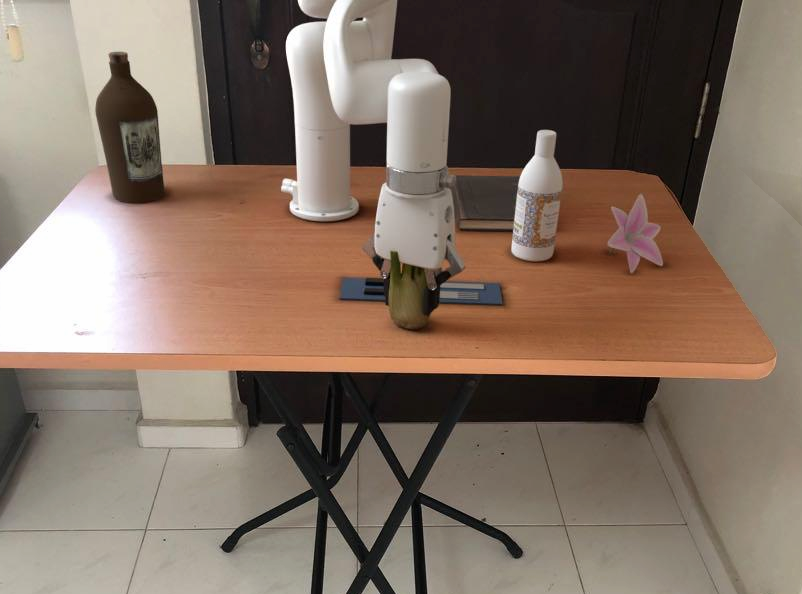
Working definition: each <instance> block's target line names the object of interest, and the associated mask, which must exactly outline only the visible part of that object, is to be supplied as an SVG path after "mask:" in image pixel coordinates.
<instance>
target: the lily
mask: <svg viewBox="0 0 802 594" xmlns="http://www.w3.org/2000/svg"><path fill="white" fill-rule="evenodd" d="M610 209H611V212H612V214H613V217H614V219H615V221H616V223H617V226H618V228H617V230H616V231H615V232H614V233H613V234H612V236H610V238H609V239H608V241H607V246H608V247H610V248H611V249H610V251H609V252H608V254H612V252H613V251H614V250H615V249H617V250H621V251H625V252H626V257H627V263H628V267H629V272H630V274H633V273H634V272H635V270H636V268H637V267H638V265H639V263H640V260H641V257H642V258H644V259H646V260H648V261H650V262H652V263H653V264H655V265H657V266H660V267H663V265H664V262H663V257H662V254H661V251H660V249H659V247H658V245H657V242H655V240H654V239H655V237H656V236H657V235H658V234H659V233H660V231H661V228H662V227H661V225H659V224H657V223H654V222H650V221H648V219H649V215H648V207H647V203H646V199H645V198H644V195H643V194H642V193H640V194H639V195H638V196H637V198H636V200H635V202H634V204H633V206H632V208H631V209H630V211H629V213H628V214H627V213H626V212H625V211H624V210H622V209H620V208H618V207H616V206H611V207H610Z"/></svg>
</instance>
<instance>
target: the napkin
mask: <svg viewBox="0 0 802 594" xmlns="http://www.w3.org/2000/svg"><path fill="white" fill-rule="evenodd" d="M366 278H367V277H343V278H342V284H341V289H340V293H339V301H340V300H342V301H365V302H368V301H369V302H385V296H384V295H364V288H384V286H366V285H365V280H366ZM444 283H461V284H483V285H484V290H465V289H440V291H451V292H468V293H478V298H479V300H454V299H440V302H439V304H447V305H448V304H449V305H450V304H451V305H476V306H478V305H479V306H503V298H502V291H501V287H500V283H499V282H480V281H479V282H475V281H453V280H452V281H450V280H447V281H446V282H444Z"/></svg>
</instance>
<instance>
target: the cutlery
mask: <svg viewBox="0 0 802 594" xmlns="http://www.w3.org/2000/svg"><path fill="white" fill-rule="evenodd" d="M365 278H366V280H365V285H366V286H384V278H382V277H365ZM440 289H465V290H484V285H483V284H461V283H443V284H441V285H440ZM364 295H384V288H364ZM440 299H454V300H479V298H478V293H468V292H451V291H440Z"/></svg>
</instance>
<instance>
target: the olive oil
mask: <svg viewBox="0 0 802 594" xmlns="http://www.w3.org/2000/svg"><path fill="white" fill-rule="evenodd" d="M108 59H109V62H108V65H109V70H110V78H109V79H108V81H107V82H106V83H105V84H104V86H103V88H101V91H100V92H99V93H98V95H97V97H96V100H95V109H94V110H95V111H94V113H95V117H96V123H97V126H98V132H99V135H100V140H101V144H102V149H103V153H104V158H105V163H106V167H107V172H108V177H109V182H110V187H111V192H112V196H113V198H114V200H117V201H120V202H122V203H128V204H129V203H130V204H139V203H148V202H153V201H155V200H158V199H160V198H162V197H163V196H164V195H165V183H164V182H165V181H164V173H163V171H164V170H163V163H162V162H163V161H162V151H161V149H162V148H161V139H160V127H159V126H160V125H159V113H158V107H157V104H156V102H155V100H154V98H153V96H152V94H151V93H150V91H148V90H147V89H146V88H145V87H144V86H143V85H141V83H140V82H138V81H137V80H136V79H135V78H134V77H133V75H132V72H131V63H130V61H129V54H128V52H126V51H111V52H109V53H108Z"/></svg>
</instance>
